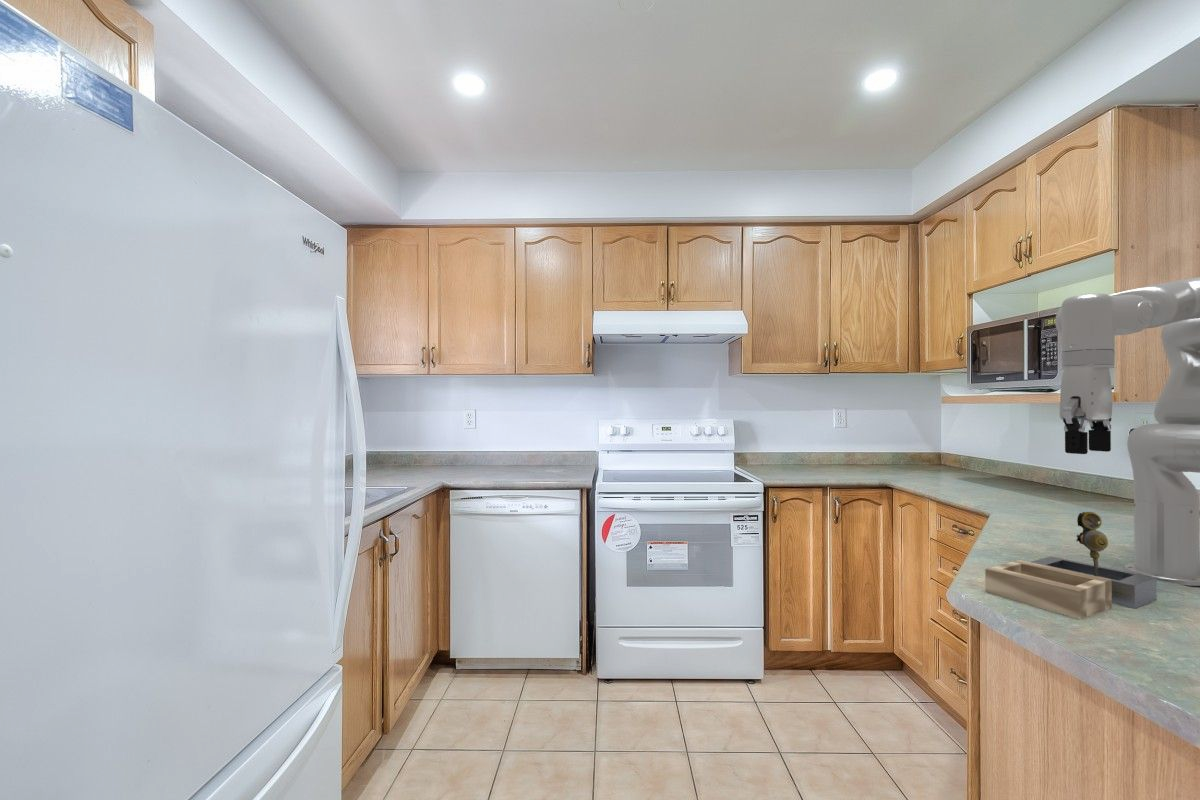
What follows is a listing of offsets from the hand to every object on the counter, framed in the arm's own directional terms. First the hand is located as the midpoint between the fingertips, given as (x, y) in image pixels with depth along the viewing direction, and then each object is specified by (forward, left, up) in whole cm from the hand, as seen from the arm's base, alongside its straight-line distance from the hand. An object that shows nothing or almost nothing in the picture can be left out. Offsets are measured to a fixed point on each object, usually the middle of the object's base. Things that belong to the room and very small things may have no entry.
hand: (1088, 452), depth 106 cm
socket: (+14, -1, -26) cm, 30 cm away
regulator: (0, 0, -26) cm, 26 cm away
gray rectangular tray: (0, 0, -26) cm, 26 cm away
